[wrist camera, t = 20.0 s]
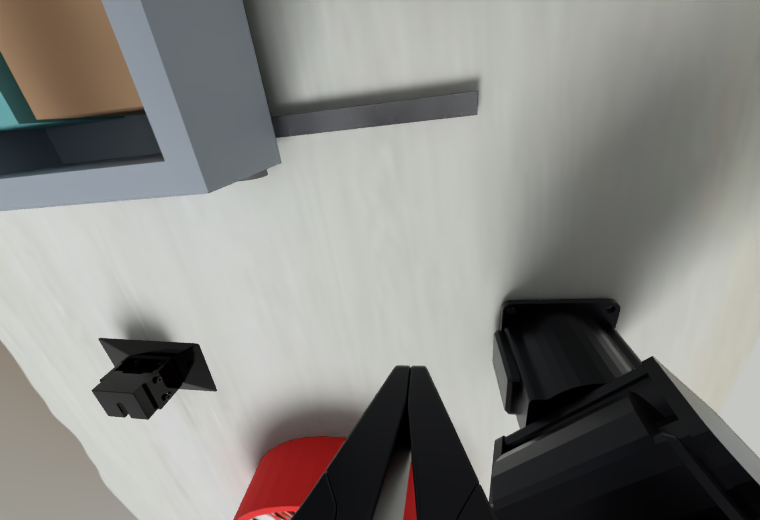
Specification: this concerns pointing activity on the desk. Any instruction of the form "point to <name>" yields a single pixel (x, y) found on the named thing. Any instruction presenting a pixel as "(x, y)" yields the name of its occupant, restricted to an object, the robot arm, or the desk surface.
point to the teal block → (28, 108)
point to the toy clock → (296, 479)
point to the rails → (377, 114)
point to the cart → (156, 116)
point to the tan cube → (66, 59)
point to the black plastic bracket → (149, 375)
